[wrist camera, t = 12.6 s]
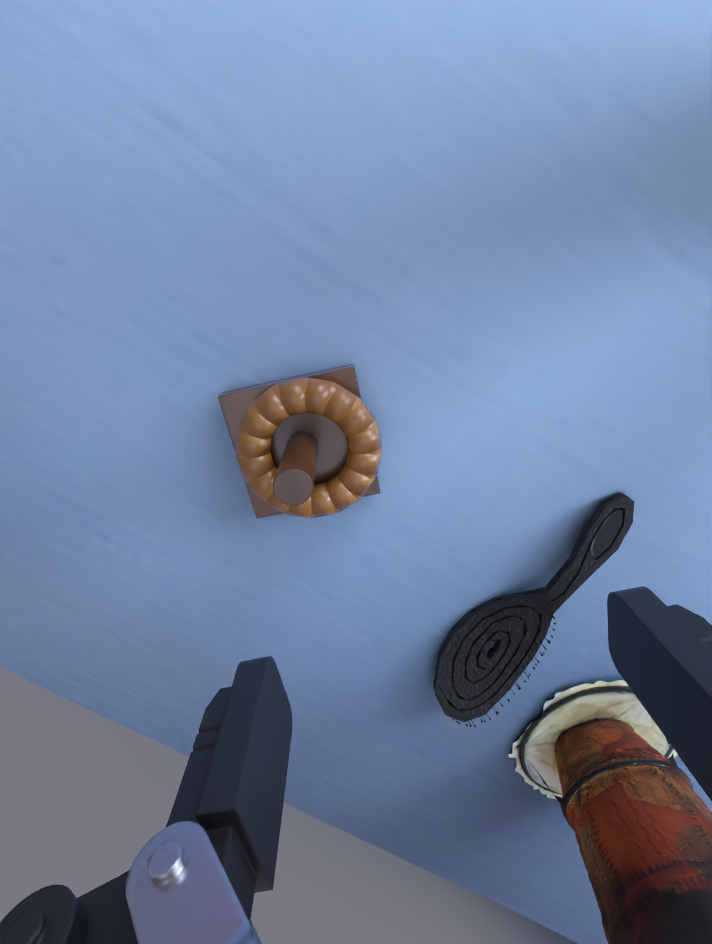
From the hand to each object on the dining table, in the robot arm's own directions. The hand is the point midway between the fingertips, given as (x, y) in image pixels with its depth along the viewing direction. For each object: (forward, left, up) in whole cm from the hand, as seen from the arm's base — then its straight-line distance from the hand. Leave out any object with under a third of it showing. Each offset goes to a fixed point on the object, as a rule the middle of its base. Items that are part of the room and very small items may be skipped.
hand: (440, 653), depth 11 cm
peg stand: (+6, +2, -26) cm, 27 cm away
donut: (+5, +2, -24) cm, 24 cm away
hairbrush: (-10, +21, -27) cm, 35 cm away
